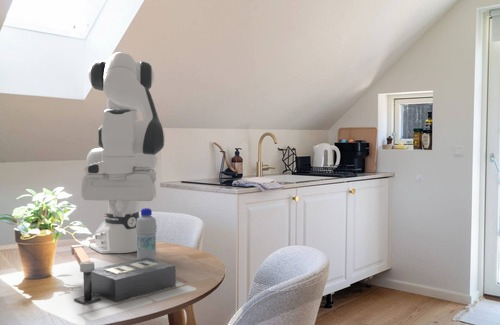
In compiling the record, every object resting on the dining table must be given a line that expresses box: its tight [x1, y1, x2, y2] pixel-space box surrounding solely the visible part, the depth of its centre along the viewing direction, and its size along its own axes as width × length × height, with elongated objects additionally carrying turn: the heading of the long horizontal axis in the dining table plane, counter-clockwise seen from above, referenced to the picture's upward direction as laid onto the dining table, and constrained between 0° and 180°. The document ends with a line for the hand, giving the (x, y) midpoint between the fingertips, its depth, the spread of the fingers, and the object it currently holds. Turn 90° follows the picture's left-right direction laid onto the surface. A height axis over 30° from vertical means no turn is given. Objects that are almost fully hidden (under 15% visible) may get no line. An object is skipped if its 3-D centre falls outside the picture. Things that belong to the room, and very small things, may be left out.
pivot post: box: [73, 272, 102, 306], centre depth 136 cm, size 5×5×8 cm
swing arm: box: [70, 244, 95, 273], centre depth 146 cm, size 25×4×2 cm, turn 25°
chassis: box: [91, 258, 177, 303], centre depth 147 cm, size 14×20×6 cm
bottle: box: [136, 207, 158, 260], centre depth 167 cm, size 7×7×20 cm
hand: (119, 216), depth 143 cm, fingers closed
